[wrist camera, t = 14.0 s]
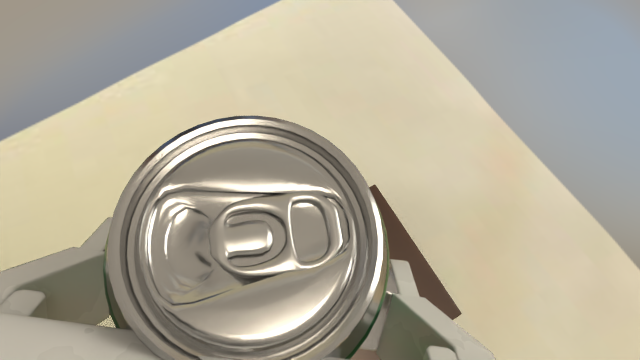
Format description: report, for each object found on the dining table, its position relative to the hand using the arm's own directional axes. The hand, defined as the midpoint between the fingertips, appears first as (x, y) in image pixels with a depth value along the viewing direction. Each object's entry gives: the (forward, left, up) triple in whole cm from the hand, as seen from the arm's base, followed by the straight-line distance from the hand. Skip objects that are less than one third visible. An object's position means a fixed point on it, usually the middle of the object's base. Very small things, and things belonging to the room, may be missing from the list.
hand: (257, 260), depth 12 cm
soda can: (0, 0, -7) cm, 7 cm away
